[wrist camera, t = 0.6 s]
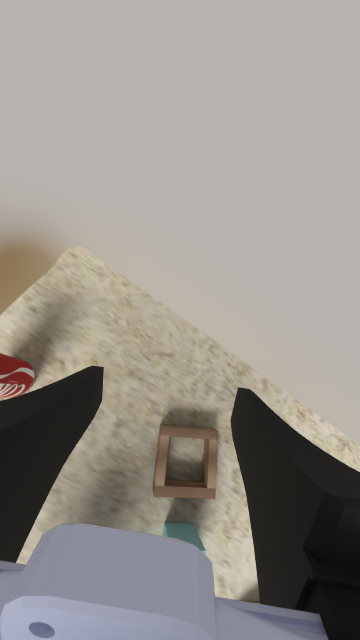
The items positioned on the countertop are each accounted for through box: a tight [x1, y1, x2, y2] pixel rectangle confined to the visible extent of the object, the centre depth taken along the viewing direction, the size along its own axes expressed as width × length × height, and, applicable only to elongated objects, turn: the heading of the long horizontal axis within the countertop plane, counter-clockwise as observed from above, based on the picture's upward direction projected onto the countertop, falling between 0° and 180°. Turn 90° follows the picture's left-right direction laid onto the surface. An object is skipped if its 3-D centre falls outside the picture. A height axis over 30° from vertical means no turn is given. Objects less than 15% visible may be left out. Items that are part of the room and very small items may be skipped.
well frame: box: [153, 424, 218, 499], centre depth 33 cm, size 8×8×2 cm
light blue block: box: [163, 523, 206, 555], centre depth 28 cm, size 4×4×6 cm
